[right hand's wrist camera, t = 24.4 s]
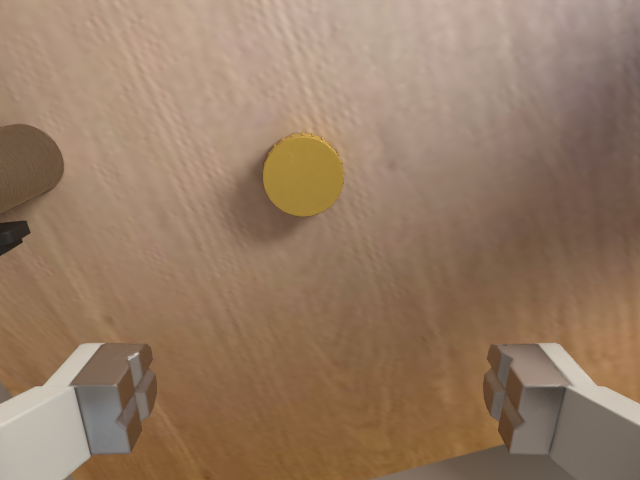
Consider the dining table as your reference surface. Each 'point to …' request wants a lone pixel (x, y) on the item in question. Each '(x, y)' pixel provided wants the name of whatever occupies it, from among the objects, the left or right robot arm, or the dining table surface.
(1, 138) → the brown cylinder
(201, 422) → the dining table surface
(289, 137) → the lid
